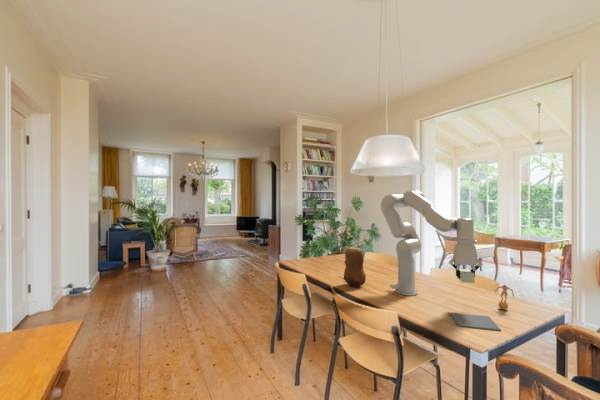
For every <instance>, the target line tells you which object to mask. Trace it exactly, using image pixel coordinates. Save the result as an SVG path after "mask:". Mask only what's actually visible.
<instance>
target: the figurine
mask: <svg viewBox="0 0 600 400" xmlns="http://www.w3.org/2000/svg"><path fill="white" fill-rule="evenodd" d="M499 289H502V290H501V293H500V297H501V300H500V301H499V302H498V308H499V309H501V310H508V308H509V304H508V302H507V296H508V295H509V294H508V292H507V291H508V290H509V291H511V293H512V297H515V294H514V290H513V289H511V287H509V286H508V285H506V284H503V285H502V286H498V287H497V288H496V289H495V291H494V293H496V292H497V291H498V290H499ZM503 296H504V297H503ZM504 299H505V300H504Z"/></svg>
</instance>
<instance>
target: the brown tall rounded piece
mask: <svg viewBox="0 0 600 400" xmlns="http://www.w3.org/2000/svg"><path fill="white" fill-rule="evenodd" d="M344 256H345V257H344V259H345V260H344V265H345V268H344V271H343V280H344V281H345V283H346V284H347V285H349V286H353V287H354V288H359V287H360V286H363V285H364V284H365V283H366V280H367V278H366V277H367V276H366V271H365V270H364V260H365V259H364V252H363V249H362V248H360V247H354V246H350V247H348V248H346V249H345V255H344Z"/></svg>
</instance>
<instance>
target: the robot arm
mask: <svg viewBox="0 0 600 400" xmlns="http://www.w3.org/2000/svg"><path fill="white" fill-rule="evenodd" d="M405 207H406V208H407V207H410V208H412V209H413V210H414V211H416V212H417V213H419V215H422V217H423V218H424V220H425V221H426V222H427V224H429V225H430V226H432V227H433V228H434V229H436V230H438V231H439V232H441V233H448V232H449V233H450V232H456V243H455V244H454V247H453V255H452V256H453V257H452V258H451V259H450V260H448V264H449V265H451V266H452V267H453V268H454V269H455V276H456V278H457V277H458V278H460V270H459V269H461V266H470V268H471V269H470V271H471V272H473V273H474V278H476V271H477V270H478V269H479V268H481V267H482V266H483V262H482V261H481V260H479V258H478V252H477V247H476V245H475V244H477V243H478V241H477V240H476V239H475V237H474V235H475V234H474V232H475V230H474V227H475V225H474V219H472V218H469V217H455V216H447V217H445V216H443V215H442V214H440V213H439V212H437V210H435V209H434V204H433V202H431V201H429V200H428V199H427V198H425V195H424V193H423V192H422V191H420V190H407V191H405V192H404V193H390V194H387V195H385V196H384V197H383V198H382V200H381V202H380V210H381V213H382V214H383V216H384V219H385V221H386V223H387V226H388V229H389V230H390V233H391V235H392V236H393V237H394V238H396V239H401V238H402V239H401V240H398V241H397V243H396V246H395V251H396V257H397V282H396V283H395V284H392V283H390V284H389V287H390V288H392V289H395V293H397V294H398V295H402V296H417V295H418V294H419V292H418V290H417V289H416V266H415V263H416V261H415V257H414V254H417V253H419V252H420V251H422V243H421V240H420V238H419V235H418V233H417V231H416V230H415V227H414V226H413V225H412V224H411V223H410V222H407V221H403V219H402V217H401V216H400V213H399V212H398V211H397V210H396V208H398V209H399V208H405ZM454 263H455V264H454ZM458 278H457V279H458Z"/></svg>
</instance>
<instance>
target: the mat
mask: <svg viewBox="0 0 600 400" xmlns="http://www.w3.org/2000/svg"><path fill="white" fill-rule="evenodd" d="M450 316H451V317H452V319H453V321H454V322H455V324H456V325H457V327H458V328H460V327H461V328H467V329H468V328H469V329H470V328H471V329H476V330H477V329H478V330H479V329H480V330H487V331H495V332H497V331H498V332H501V331H502V329H501V328H500V327H499V326H498V325H497V324H496V322H495V321H494V320H493V319H492V318H491V317H490V316H489V315H478V314H470V313H459V312H458V313H457V312H450Z"/></svg>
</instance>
